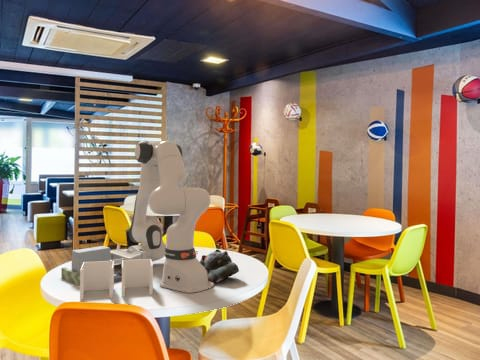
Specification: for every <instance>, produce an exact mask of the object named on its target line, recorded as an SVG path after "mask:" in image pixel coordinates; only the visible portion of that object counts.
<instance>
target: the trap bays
mask: <svg viewBox="0 0 480 360" xmlns="http://www.w3.org/2000/svg"><path fill="white" fill-rule="evenodd" d="M119 282H122V272H119V271H118V274H114V283H119Z"/></svg>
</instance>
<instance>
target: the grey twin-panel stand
mask: <svg viewBox="0 0 480 360" xmlns="http://www.w3.org/2000/svg"><path fill="white" fill-rule="evenodd" d="M114 265H115V264H114V261H112V260H110V261H98V262H83V264H82V267H81V269H80V285H79V300H80V301H84V299H85V298H84V294H85V293H84V292H85V291H97V290H98V291H99V290H109V299H110V298H111V299H113V298H114V291H115V285H114V284H115V282H114V276H115V269H114ZM121 271H122V281H121V297H122V298H124V297H126V288H127V289H128V288H129V289H130V288H141V287H142V288H143V287H144V288H145V287H149V293H148V294H149V296H152V295H153V293H154V289H153V288H154V287H153V285H154V283H153V282H154V264H153V261H152V260H151V259H139V260H122V267H121Z"/></svg>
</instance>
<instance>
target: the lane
mask: <svg viewBox="0 0 480 360" xmlns="http://www.w3.org/2000/svg"><path fill="white" fill-rule="evenodd" d="M120 268H121V269H122V264H114V270H117V269H120ZM119 272H122V270H119V271H118V273H119ZM61 278H62V279H64V280H66V281H69V282H70V283H73V284H75V285H77V286H80V273H77V272H75V271H73V270H72V269H70V268H67V267H66V266H65V267H61Z"/></svg>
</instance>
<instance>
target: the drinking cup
mask: <svg viewBox="0 0 480 360" xmlns="http://www.w3.org/2000/svg"><path fill="white" fill-rule="evenodd" d="M131 218H132V219H131V221H132V220H133V217H131ZM129 229H130V227H129V228H127V229H125V230H124V231H125V237H126V247H127V248H126V251H127V250H128V248H129V247H130V246H135V245H140V243H135V242H133V241H132V240H131V239H130V237H129Z"/></svg>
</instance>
